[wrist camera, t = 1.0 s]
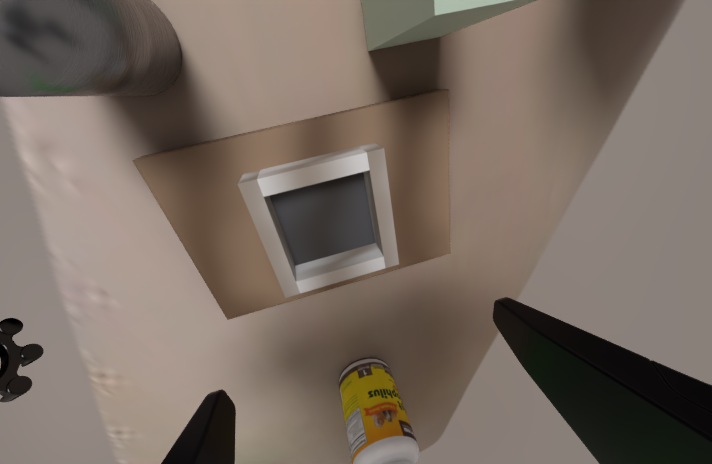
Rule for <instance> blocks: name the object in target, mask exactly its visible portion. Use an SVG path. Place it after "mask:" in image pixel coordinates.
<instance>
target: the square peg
mask: <svg viewBox="0 0 712 464" xmlns="http://www.w3.org/2000/svg"><path fill="white" fill-rule="evenodd" d="M534 1H537V0H361V5H362V12H363V20H364V27H365V34H366V42H367V49H368V51H373V50H377V49H382V48H387V47H392V46H397V45H402V44H407V43H412V42H417V41H422V40H427V39H432V38H437V37H441V36H444V35H447V34H449V33H452V32H454V31H457V30H460V29H462V28H465V27H468V26H470V25H473V24H476V23H478V22H481V21H484V20H486V19H489V18H492V17H494V16H497V15H499V14H502V13H505V12H507V11H510V10H513V9H515V8H518V7H521V6H523V5H526V4H529V3H531V2H534Z"/></svg>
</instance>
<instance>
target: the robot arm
mask: <svg viewBox="0 0 712 464" xmlns="http://www.w3.org/2000/svg"><path fill="white" fill-rule="evenodd" d="M493 320H494V323H495V325H496V326H497V328H498V329H499V331H500V333H501V334H502V336H503V337H504V339H505V340H506V342H507V343H508V345H509V346H510V348H511V349H512V351H513V353H514V354H515V356H516V357H517V359H518V360H519V362H520V363H521V364H522V366H523V367H524V369H525V370H526V371H527V373H528V374H529V375H530V376H531V378H532V379H533V380H534V381H535V383H536V384H537V385H538V386H539V388H540V389H541V390H542V392H543V393H544V394H545V395H546V397H547V398H548V399H549V400H550V402H551V403H552V404H553V406H554V407H555V408H556V409H557V411H558V412H559V413H560V414H561V416H562V417H563V418H564V419H565V421H566V422H567V423H568V424H569V426H570V427H571V428H572V430H573V431H574V432H575V433H576V435H577V436H578V437H579V438H580V440H581V441H582V442H583V443H584V444H585V446H586V447H587V449H588V450H589V451H590V452H591V454H592V455H593V456H594V457H595V459H596V460H597V461H598V462H599V464H712V385H710V384H707V383H704V382H702V381H700V380H697V379H695V378H692V377H690V376H688V375H685V374H683V373H681V372H678V371H676V370H673V369H671V368H669V367H666V366H664V365H662V364H660V363H657V362H655V361H650V360H649V359H648V358H646V357H643V356H641V355H639V354H636V353H634V352H632V351H630V350H627V349H625V348H623V347H621V346H618V345H616V344H613V343H611V342H609V341H607V340H605V339H602V338H600V337H598V336H595V335H593V334H591V333H588V332H586V331H584V330H582V329H579V328H577V327H574V326H572V325H570V324H568V323H565V322H563V321H561V320H559V319H556V318H554V317H552V316H550V315H547V314H545V313H543V312H540V311H538V310H536V309H534V308H531V307H529V306H527V305H524V304H522V303H520V302H517V301H515V300H513V299H511V298H507V297H505V298H501V299H498V300H496V301H495V302H494V310H493ZM235 416H236V410H235V405H234V403H233V402H232V400H231V399H230V398H229V396H228V395H227V394H226V392H225V391H224V390H218V391H215V392H212V393H210V394H208V395H207V396H206V397H205V399H204V400H203V402H202V403H201V405H200V406H199V408H198V409H197V411H196V412H195V414H194V415H193V417H192V418H191V420H190V421H189V423H188V424H187V426H186V427H185V429H184V430H183V432H182V433H181V435H180V436H179V438H178V439H177V441H176V442H175V444H174V445H173V447H172V448H171V450H170V451H169V453H168V454H167V456H166V457H165V459H164V460H163V462H162V463H161V464H235Z"/></svg>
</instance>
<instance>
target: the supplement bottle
mask: <svg viewBox="0 0 712 464" xmlns="http://www.w3.org/2000/svg"><path fill="white" fill-rule="evenodd" d="M339 389H340V395H341V401H342V407H343V413H344V419H345V425H346V431H347V437H348V443H349V449H350V455H351V460H352V464H416V462H417V461H418V458H419V447H418V445H417V441H416V438H415V436H414V433H413V431H412V428H411V425H410V423H409V420H408V417H407V414H406V411H405V409H404V406H403V403H402V401H401V398H400V395H399V393H398V390H397V387H396V384H395V382H394V379H393V376H392V373H391V371H390V369H389V367H388V366H387V364H386V363H384V362H383V361H381V360H378V359H364V360H360V361H357V362H355V363H353V364H351V365H350V366H348V367H347V368H346V369H345V370H344V371H343V373H342V374H341V377H340V379H339Z"/></svg>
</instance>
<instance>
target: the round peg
mask: <svg viewBox="0 0 712 464" xmlns="http://www.w3.org/2000/svg"><path fill="white" fill-rule="evenodd" d="M181 60H182V57H181V48H180V44H179V41H178V37H177V35H176V33H175V31H174V29H173V27H172V25H171V23H170V22H169V20H168V19H167V17H166V16H165V15H164V13H163V12H162V11H161V10H160V9H159V8H158V7H157V6H156V5H155V4H154V3H153V2H152V1H151V0H0V96H1V97H31V96H146V95H154V94H158V93H161V92H163V91H165V90H166V89H168V88H169V87H170V86H171V85H172V84H173V83H174V82H175V81H176V79H177V77H178V75H179V72H180V68H181Z"/></svg>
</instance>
